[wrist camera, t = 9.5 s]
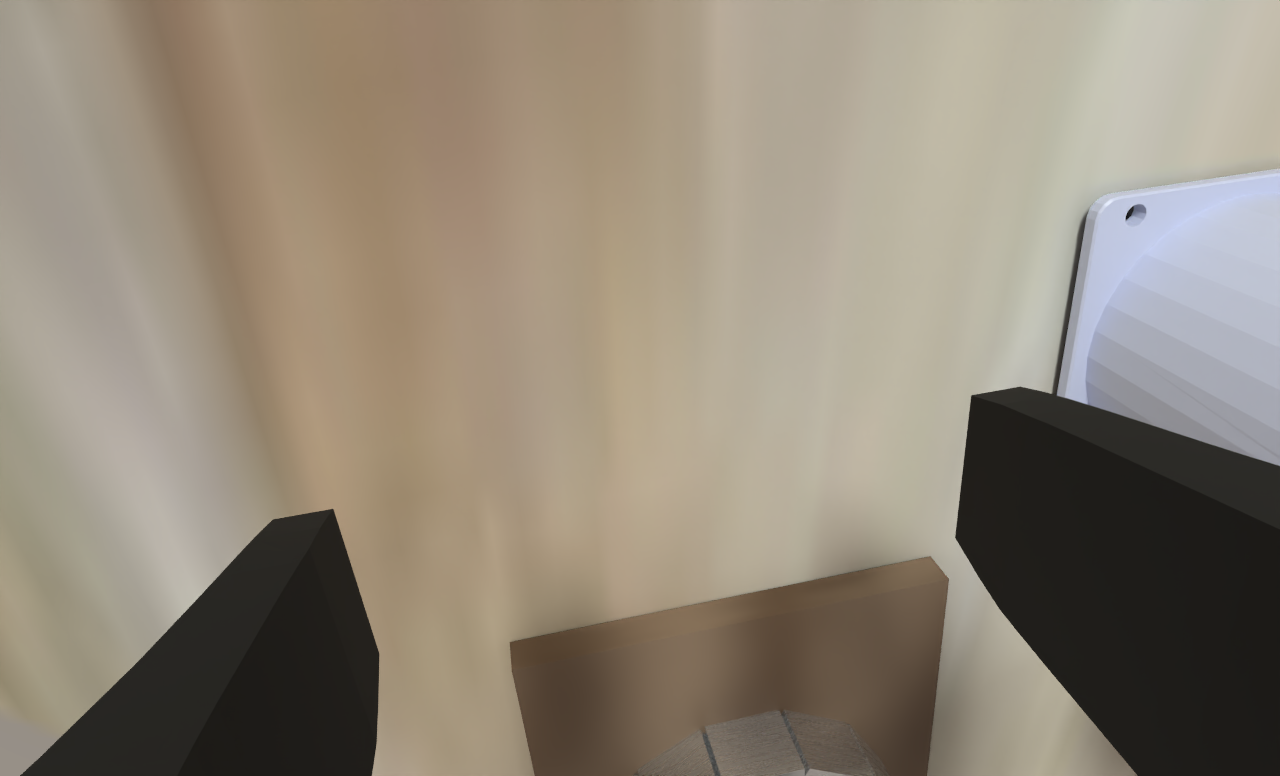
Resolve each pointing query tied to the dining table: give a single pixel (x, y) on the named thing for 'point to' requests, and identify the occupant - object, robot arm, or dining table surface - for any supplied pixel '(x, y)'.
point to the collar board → (745, 683)
